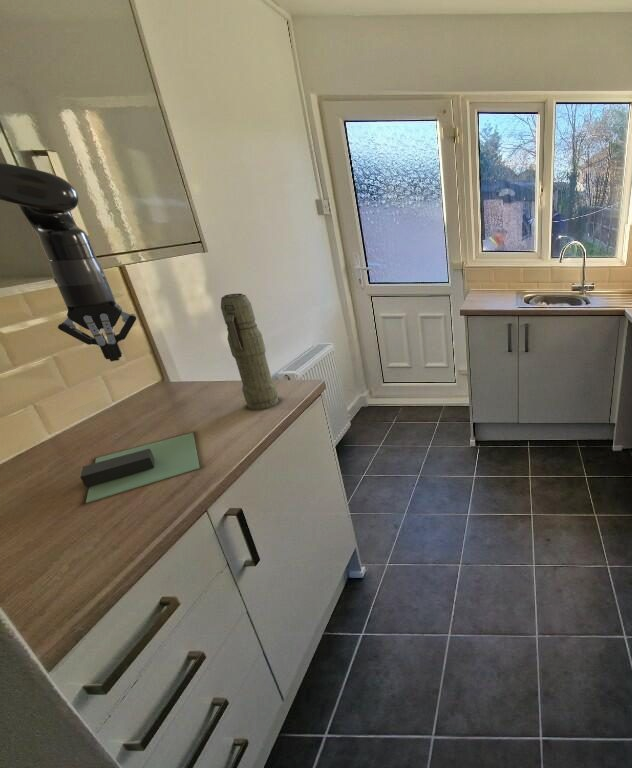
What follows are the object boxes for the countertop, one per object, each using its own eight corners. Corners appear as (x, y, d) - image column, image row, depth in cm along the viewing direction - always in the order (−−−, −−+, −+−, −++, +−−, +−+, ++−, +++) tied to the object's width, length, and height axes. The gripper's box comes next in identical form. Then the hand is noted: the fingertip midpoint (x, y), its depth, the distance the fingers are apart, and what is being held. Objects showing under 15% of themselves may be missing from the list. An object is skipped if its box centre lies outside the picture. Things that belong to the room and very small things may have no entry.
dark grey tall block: (154, 468, 99) (86, 488, 92) (154, 459, 103) (88, 478, 96) (149, 457, 98) (80, 476, 91) (150, 448, 102) (82, 466, 95)
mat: (86, 504, 88) (85, 502, 88) (96, 460, 104) (95, 458, 104) (200, 469, 100) (199, 467, 99) (193, 434, 115) (193, 432, 115)
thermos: (242, 414, 126) (206, 300, 112) (254, 398, 136) (223, 292, 123) (273, 411, 128) (243, 298, 114) (283, 395, 138) (256, 290, 124)
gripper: (125, 275, 92) (153, 349, 99) (40, 282, 84) (76, 362, 91) (123, 279, 86) (152, 357, 93) (32, 287, 79) (71, 371, 86)
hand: (115, 359), depth 92 cm, fingers closed
